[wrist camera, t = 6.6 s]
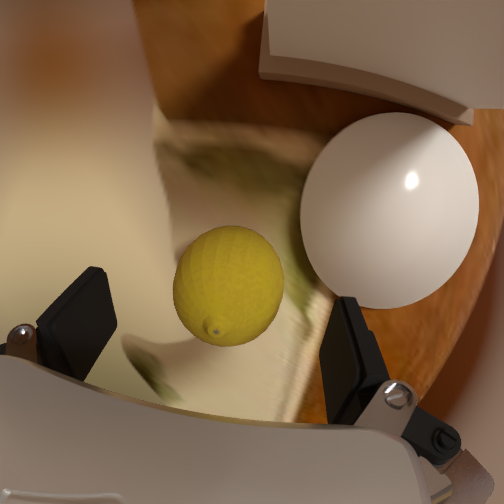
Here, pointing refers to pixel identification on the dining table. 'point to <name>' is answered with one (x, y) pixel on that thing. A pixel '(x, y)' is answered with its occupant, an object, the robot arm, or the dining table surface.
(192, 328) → the lemon
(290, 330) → the dining table surface
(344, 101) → the dining table surface
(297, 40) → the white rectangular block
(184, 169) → the dining table surface
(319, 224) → the white round disc
